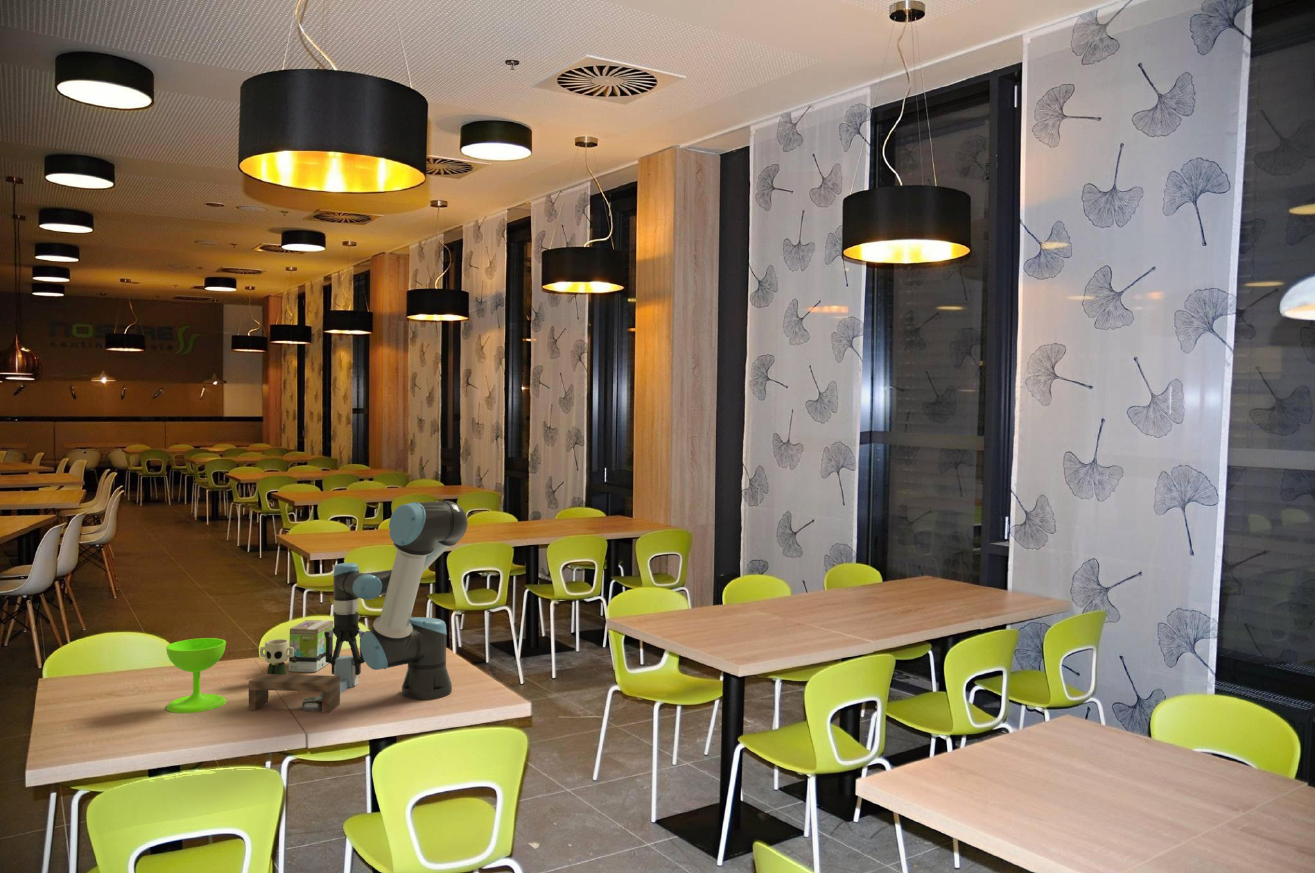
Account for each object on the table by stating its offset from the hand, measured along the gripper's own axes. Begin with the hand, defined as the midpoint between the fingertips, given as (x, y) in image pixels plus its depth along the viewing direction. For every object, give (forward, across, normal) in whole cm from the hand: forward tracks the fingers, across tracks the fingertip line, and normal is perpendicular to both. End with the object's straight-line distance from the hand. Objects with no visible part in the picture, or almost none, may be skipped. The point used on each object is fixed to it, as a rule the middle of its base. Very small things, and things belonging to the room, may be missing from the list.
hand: (346, 684), depth 302 cm
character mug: (+1, +24, -2) cm, 24 cm away
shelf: (0, +6, +24) cm, 24 cm away
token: (0, 0, +24) cm, 24 cm away
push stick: (0, 0, +7) cm, 7 cm away
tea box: (+1, +21, -21) cm, 30 cm away
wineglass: (0, +36, +24) cm, 43 cm away
